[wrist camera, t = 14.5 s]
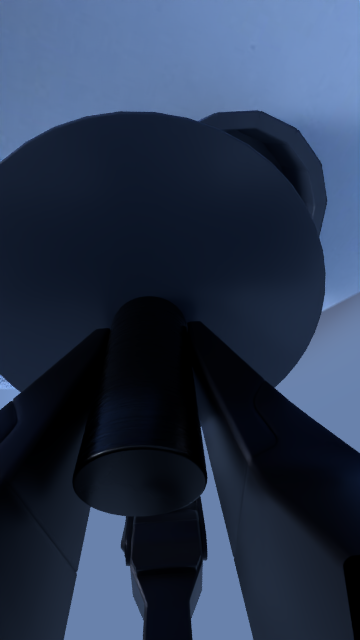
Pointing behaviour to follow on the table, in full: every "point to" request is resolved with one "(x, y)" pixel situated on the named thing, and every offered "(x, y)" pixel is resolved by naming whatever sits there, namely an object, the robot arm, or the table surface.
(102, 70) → the table surface
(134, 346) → the lid
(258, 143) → the round container
